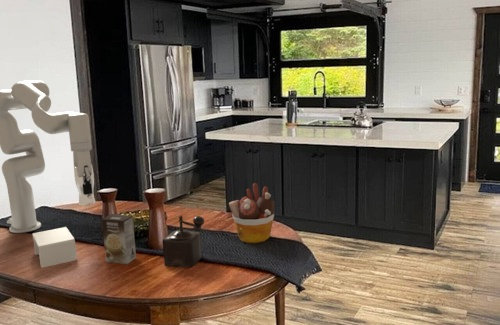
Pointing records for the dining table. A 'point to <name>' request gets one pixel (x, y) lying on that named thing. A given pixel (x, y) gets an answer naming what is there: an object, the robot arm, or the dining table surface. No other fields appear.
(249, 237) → the bucket of meat
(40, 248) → the white block
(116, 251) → the coffee box
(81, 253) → the dining table surface
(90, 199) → the beer glass
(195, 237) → the manual coffee grinder
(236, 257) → the dining table surface
